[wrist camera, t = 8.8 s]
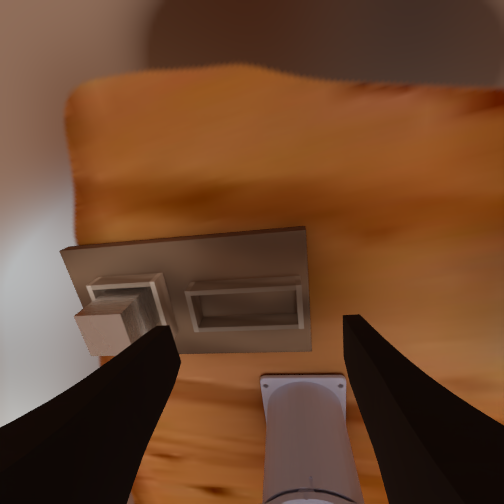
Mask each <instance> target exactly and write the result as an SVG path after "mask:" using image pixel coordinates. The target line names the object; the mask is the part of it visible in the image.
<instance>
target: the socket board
mask: <svg viewBox="0 0 504 504" xmlns="http://www.w3.org/2000/svg"><path fill="white" fill-rule="evenodd" d="M60 253H61V256H62V258H63V260H64V263H65V265H66V268H67V270H68V272H69V275H70V277H71V280H72V282H73V285H74V287H75V289H76V292H77V294H78V297H79V299H80V301H81V304H82V306H83V308H85V307H86V306H87V305H88V304H90V303H91V302H92V301H93V300H95V299H96V298H97V297H98V296H100V295H101V294H102V293H103V292H105V291H106V290H107V289H116V288H133V287H150V286H151V290H152V293H153V296H154V300H155V303H156V306H157V310H158V313H159V316H160V321H159V322H158V324H157V325H156V326H162V325H170V328H171V331H172V334H173V337H174V341H175V344H176V347H177V350H178V353H179V354H204V353H257V352H310V351H312V345H311V325H310V304H309V284H308V264H307V243H306V229H305V226H299V227H288V228H276V229H265V230H253V231H242V232H231V233H219V234H208V235H197V236H185V237H174V238H162V239H151V240H140V241H128V242H117V243H105V244H94V245H83V246H71V247H67V248H65V249H63V250H60ZM156 326H155V327H156Z"/></svg>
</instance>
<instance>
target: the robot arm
mask: <svg viewBox="0 0 504 504" xmlns="http://www.w3.org/2000/svg"><path fill="white" fill-rule="evenodd" d="M343 347H344V360H345V364H346V369H347V373H348V377H349V381H350V384H351V387H352V390H353V393H354V395H355V398H356V401H357V404H358V407H359V409H360V412H361V415H362V418H363V420H364V423H365V426H366V429H367V432H368V434H369V437H370V440H371V443H372V445H373V448H374V452H375V455H376V458H377V461H378V464H379V468H380V472H381V475H382V479H383V483H384V486H385V490H386V494H387V498H388V501H389V504H504V425H502V424H500V423H499V422H497V421H495V420H494V419H492V418H491V417H489V416H487V415H486V414H484V413H482V412H481V411H479V410H478V409H476V408H474V407H473V406H471V405H470V404H468V403H467V402H465V401H464V400H462V399H461V398H459V397H458V396H456V395H455V394H453V393H452V392H451V391H449V390H448V389H446V388H445V387H443V386H442V385H441V384H439V383H438V382H436V381H435V380H434V379H432V378H431V377H430V376H428V375H427V374H426V373H424V372H423V371H422V370H421V369H419V368H418V367H417V366H416V365H414V364H413V363H412V362H411V361H409V360H408V359H407V358H406V357H405V356H403V355H402V354H401V353H400V352H399V351H398V350H397V349H396V348H394V347H393V346H392V345H391V344H390V343H389V342H388V341H387V340H386V339H384V338H383V337H382V336H381V335H380V334H379V333H378V332H377V331H376V330H375V329H374V328H373V327H372V326H371V325H370V324H369V323H368V322H367V321H366V320H365V319H364V318H363V317H362V316H361V315H359V314H358V315H343ZM180 364H181V360H180V357H179V353H178V350H177V347H176V344H175V341H174V337H173V334H172V331H171V328H170V325H162V326H156V327H154V328H152V329H151V330H150V331H148V332H147V333H145V334H144V335H143V336H141V337H140V338H139V339H137V340H136V341H135V342H133V343H132V344H131V345H129V346H128V347H127V348H126V349H124V350H123V351H122V352H120V353H119V354H118V355H116V356H115V357H114V358H112V359H111V360H110V361H108V362H107V363H105V364H104V365H103V366H101V367H100V368H98V369H97V370H96V371H94V372H93V373H91V374H90V375H89V376H87V377H86V378H84V379H83V380H81V381H80V382H78V383H77V384H75V385H74V386H72V387H71V388H69V389H67V390H66V391H64V392H63V393H61V394H59V395H58V396H56V397H55V398H53V399H51V400H50V401H48V402H46V403H45V404H43V405H41V406H39V407H37V408H35V409H34V410H32V411H30V412H28V413H27V414H25V415H23V416H21V417H19V418H18V419H16V420H14V421H12V422H10V423H8V424H6V425H4V426H2V427H0V504H127V501H128V498H129V495H130V492H131V489H132V486H133V483H134V480H135V477H136V474H137V472H138V469H139V466H140V463H141V460H142V457H143V455H144V452H145V450H146V447H147V445H148V443H149V440H150V438H151V436H152V434H153V431H154V429H155V427H156V425H157V423H158V420H159V418H160V416H161V414H162V412H163V409H164V407H165V405H166V403H167V400H168V398H169V396H170V394H171V391H172V389H173V387H174V384H175V381H176V378H177V375H178V371H179V368H180ZM266 384H267V385H266ZM339 384H340V385H339ZM260 385H261V391H262V398H263V405H264V412H265V418H266V425H267V428H266V447H265V465H264V484H263V503H262V504H364V500H363V496H362V491H361V487H360V483H359V479H358V474H357V470H356V466H355V461H354V457H353V453H352V449H351V444H350V440H349V436H348V432H347V427H346V379H345V377H344V376H343V375H264V376H261V378H260Z"/></svg>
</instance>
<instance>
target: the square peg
mask: <svg viewBox="0 0 504 504" xmlns="http://www.w3.org/2000/svg"><path fill="white" fill-rule="evenodd" d="M74 318H75V320H76V322H77V325H78V327H79V329H80V331H81V334H82V336H83V338H84V340H85V343H86V345H87V347H88V350H89V352H90V354H91V356H116V355H118V354H119V353H120V352H122V351H123V350H124V349H126V348H127V347H128V346H129V345H131V344H132V343H133V342H135V341H136V340H137V339H139V338H140V337H141V336H143V335H144V334H145V333H147V332H148V331H150V330H151V329H152V328H154V327H155V326H156V325H157V324H158V322H159V321H160V316H159V313H158V310H157V306H156V303H155V300H154V296H153V293H152V290H151V286H150V287H133V288H116V289H107V290H106V291H105V292H103V293H102V294H101V295H100V296H98V297H97V298H96V299H95V300H93V301H92V302H91V303H90V304H88V305H87V306H86V307H85V308H83V309H82V310H81V311H80V312H79V313H78V314H76V315H75V316H74Z"/></svg>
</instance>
